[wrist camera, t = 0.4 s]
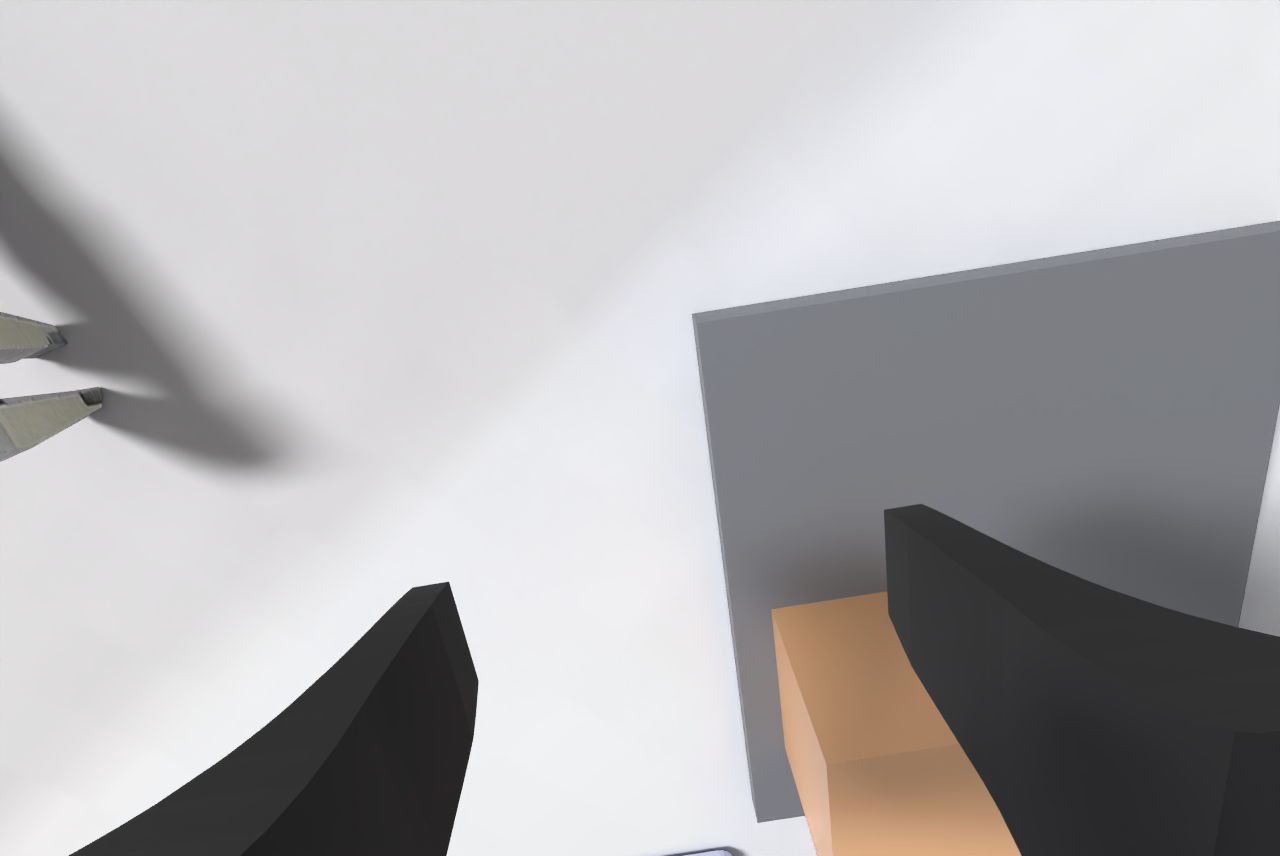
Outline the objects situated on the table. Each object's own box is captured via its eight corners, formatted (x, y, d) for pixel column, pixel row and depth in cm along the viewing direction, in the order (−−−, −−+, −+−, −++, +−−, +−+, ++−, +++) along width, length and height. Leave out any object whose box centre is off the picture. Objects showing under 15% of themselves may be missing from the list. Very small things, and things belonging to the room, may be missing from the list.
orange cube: (952, 722, 25) (1052, 892, 20) (784, 748, 25) (837, 925, 20) (953, 581, 23) (1066, 727, 18) (771, 609, 23) (826, 764, 18)
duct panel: (1193, 731, 27) (1315, 856, 23) (752, 798, 27) (783, 937, 23) (1280, 220, 20) (1479, 250, 16) (691, 314, 21) (719, 370, 16)
